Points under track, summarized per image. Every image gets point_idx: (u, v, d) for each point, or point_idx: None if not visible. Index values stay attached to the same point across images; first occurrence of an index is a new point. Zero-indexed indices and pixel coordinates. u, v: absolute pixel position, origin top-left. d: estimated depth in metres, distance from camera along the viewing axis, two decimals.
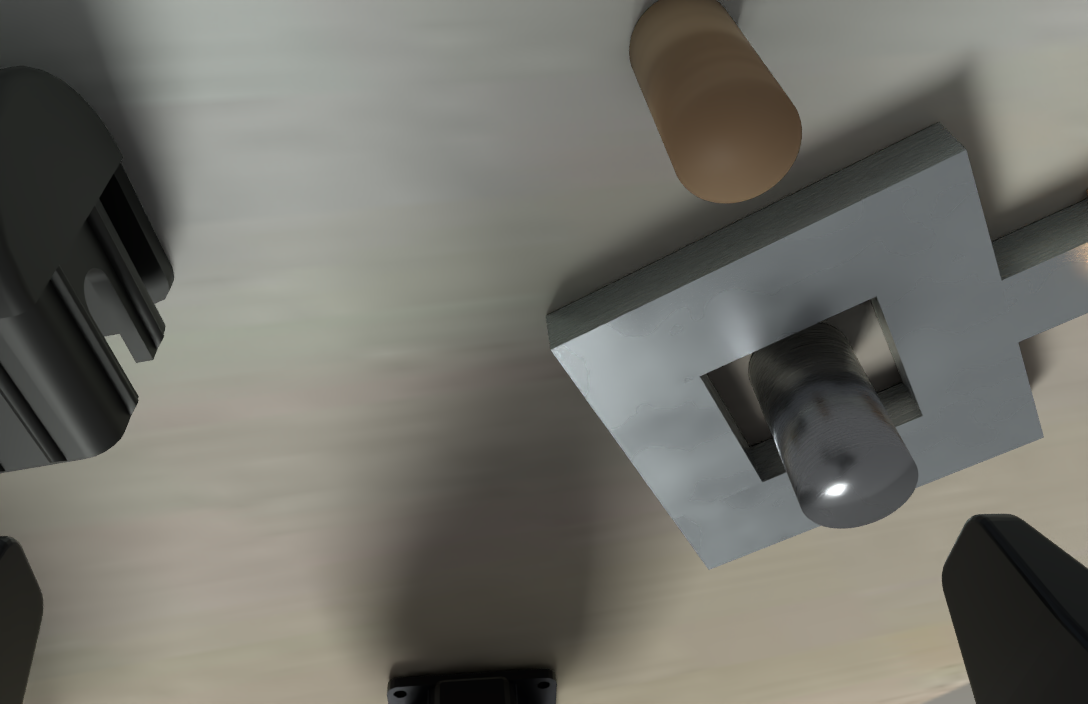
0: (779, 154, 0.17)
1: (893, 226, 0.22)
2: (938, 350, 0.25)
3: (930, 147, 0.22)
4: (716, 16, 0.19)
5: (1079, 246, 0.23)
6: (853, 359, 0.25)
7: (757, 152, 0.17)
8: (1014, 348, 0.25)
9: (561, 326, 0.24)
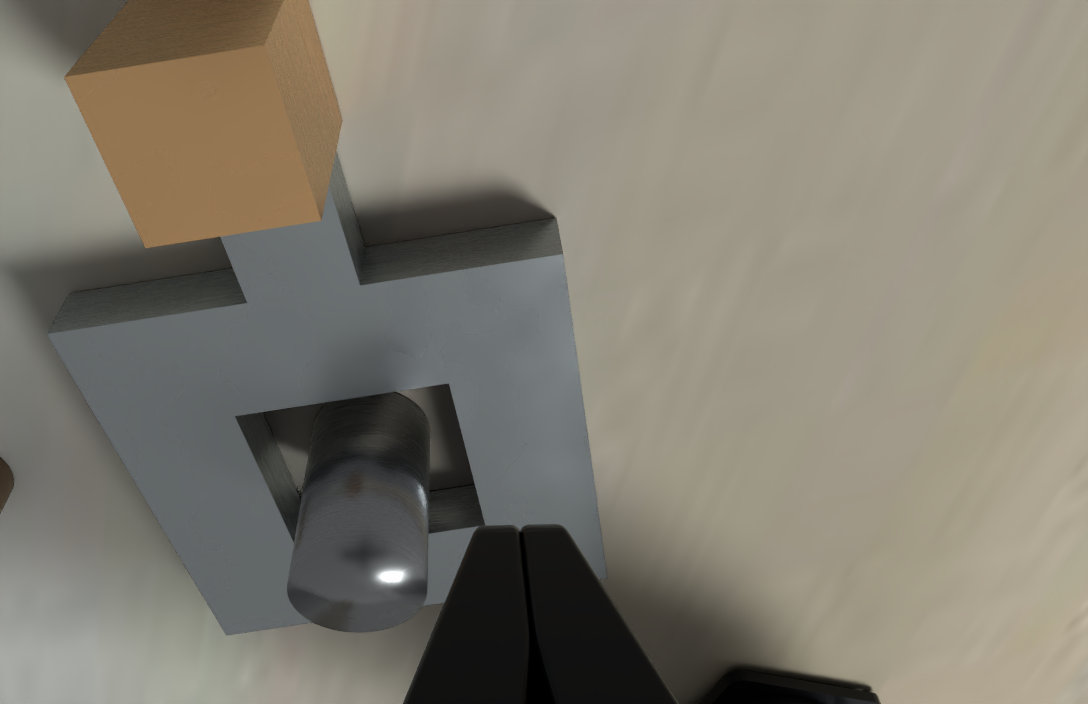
0: None
1: (139, 397, 0.20)
2: (340, 365, 0.20)
3: None
4: None
5: None
6: (328, 436, 0.22)
7: None
8: (370, 288, 0.19)
9: None
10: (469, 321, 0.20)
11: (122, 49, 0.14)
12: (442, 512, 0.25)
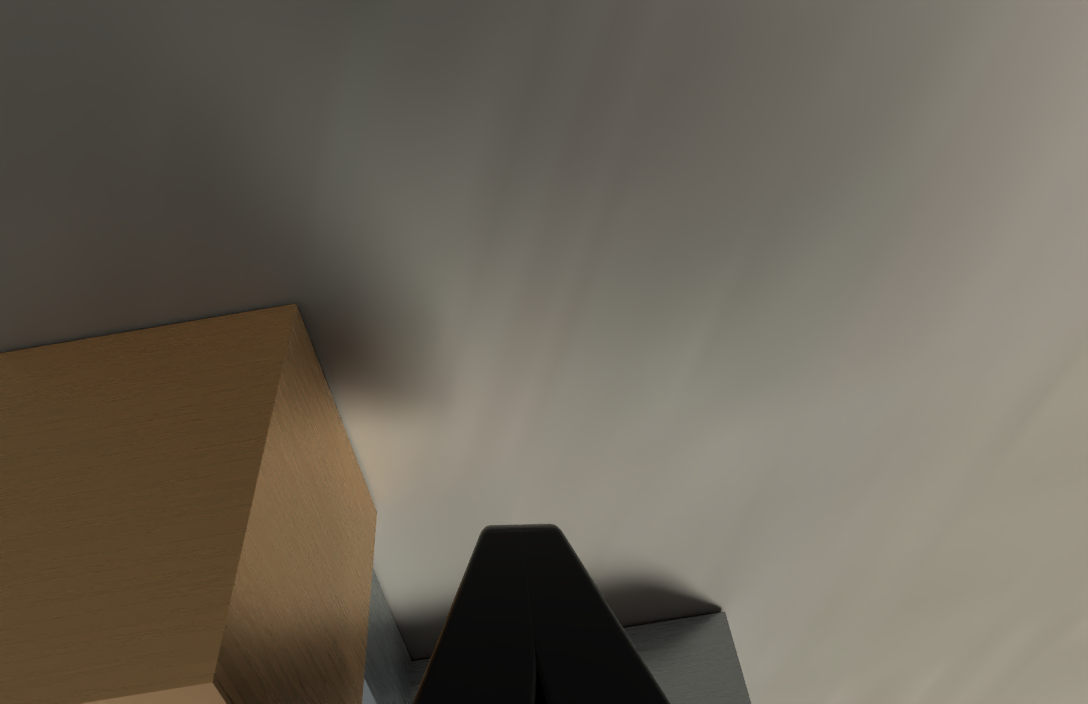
0: None
1: None
2: None
3: None
4: None
5: None
6: None
7: None
8: None
9: None
10: None
11: None
12: None
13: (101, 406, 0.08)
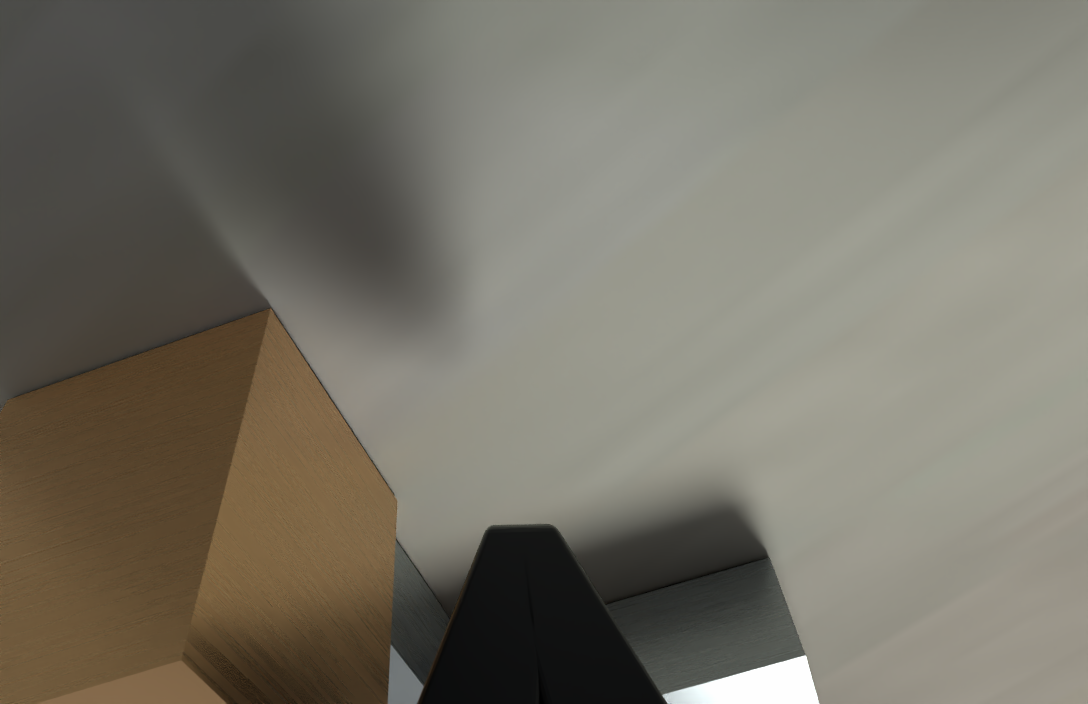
0: None
1: None
2: None
3: None
4: None
5: None
6: None
7: None
8: None
9: None
10: None
11: None
12: None
13: (99, 429, 0.08)
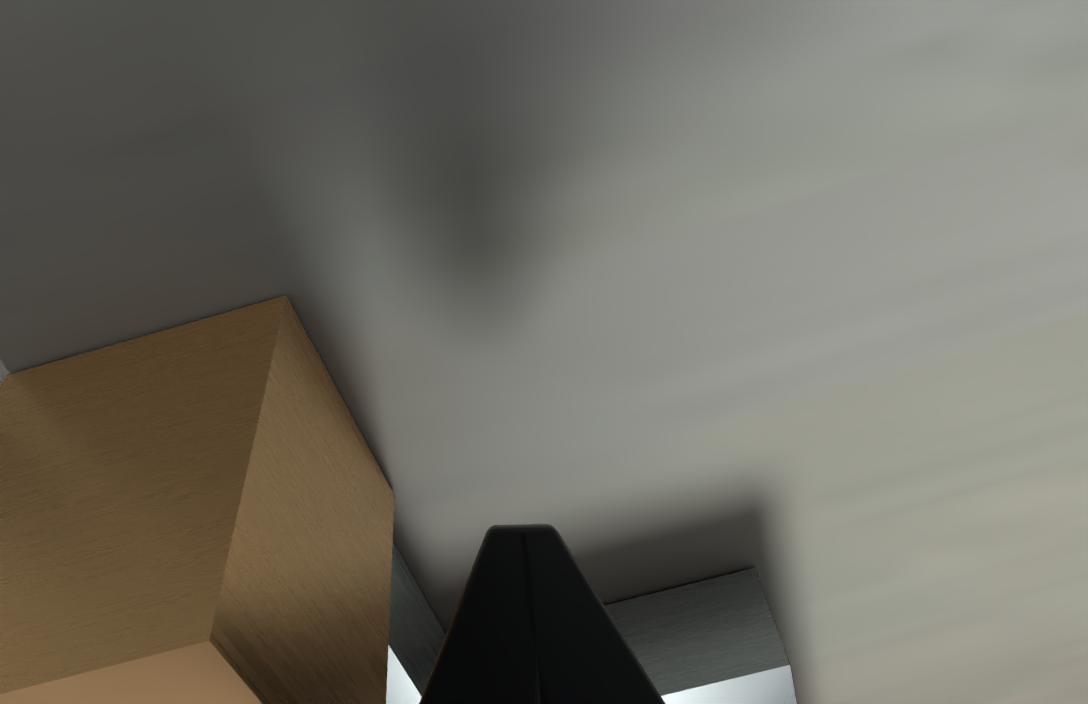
0: None
1: None
2: None
3: None
4: None
5: None
6: None
7: None
8: None
9: None
10: None
11: None
12: None
13: (108, 408, 0.08)
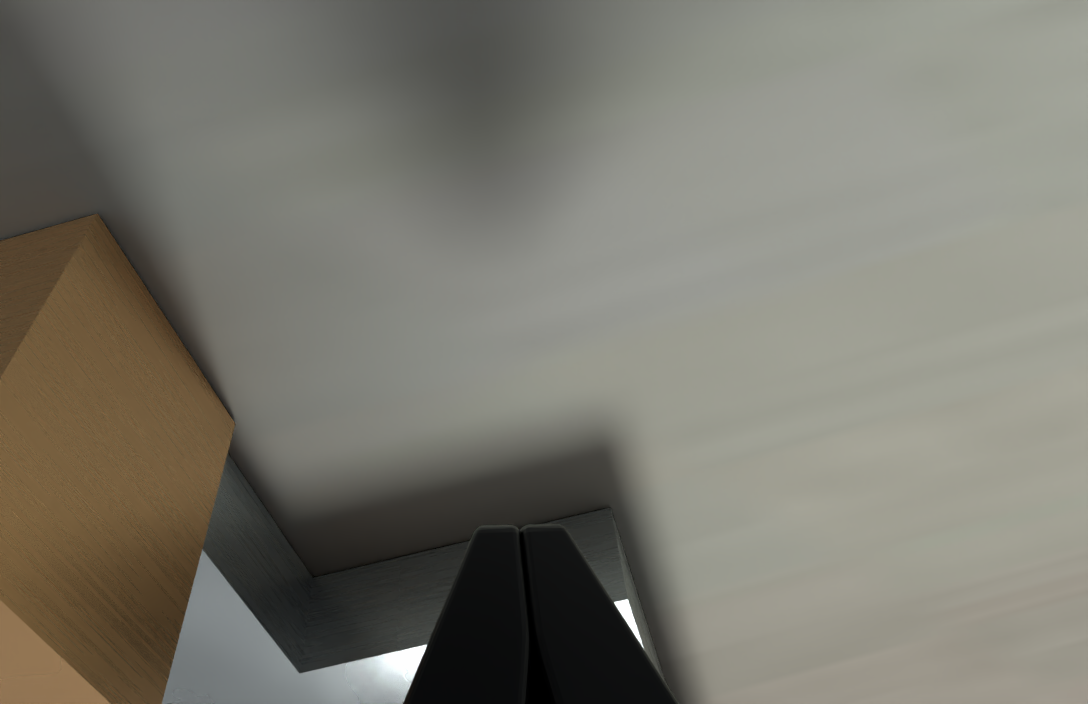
0: None
1: None
2: None
3: None
4: None
5: None
6: None
7: None
8: (317, 674, 0.12)
9: None
10: None
11: None
12: None
13: None
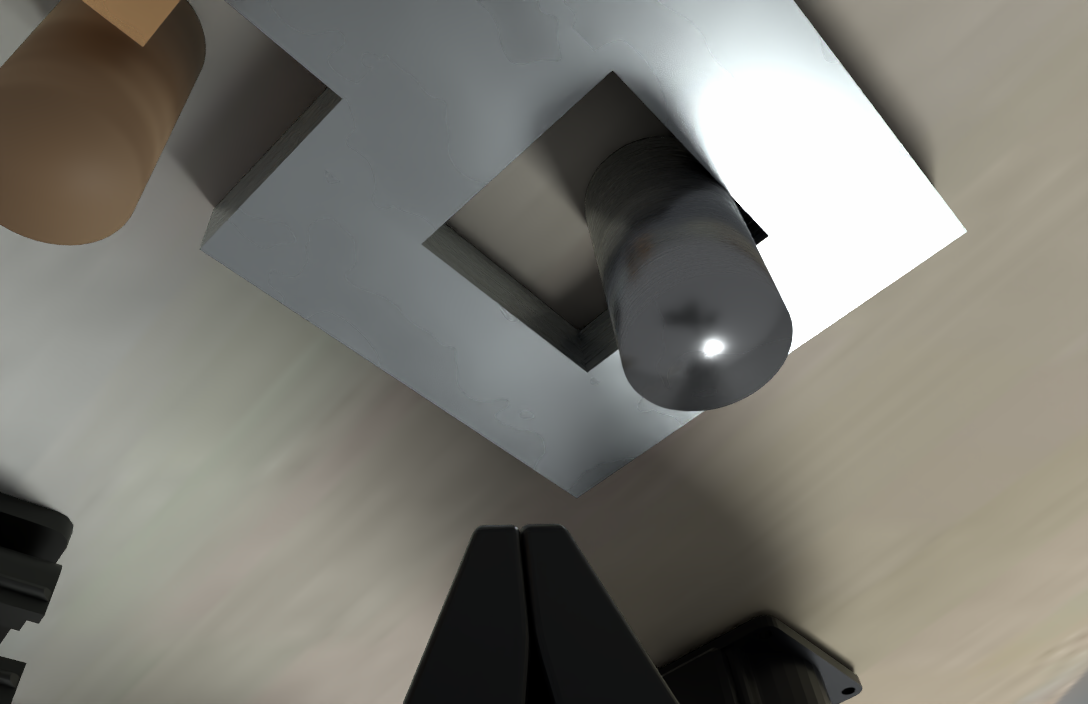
0: (91, 142, 0.12)
1: (322, 273, 0.18)
2: (482, 118, 0.16)
3: None
4: (56, 7, 0.15)
5: (248, 12, 0.15)
6: (663, 170, 0.18)
7: (71, 159, 0.13)
8: None
9: None
10: None
11: None
12: None
13: None
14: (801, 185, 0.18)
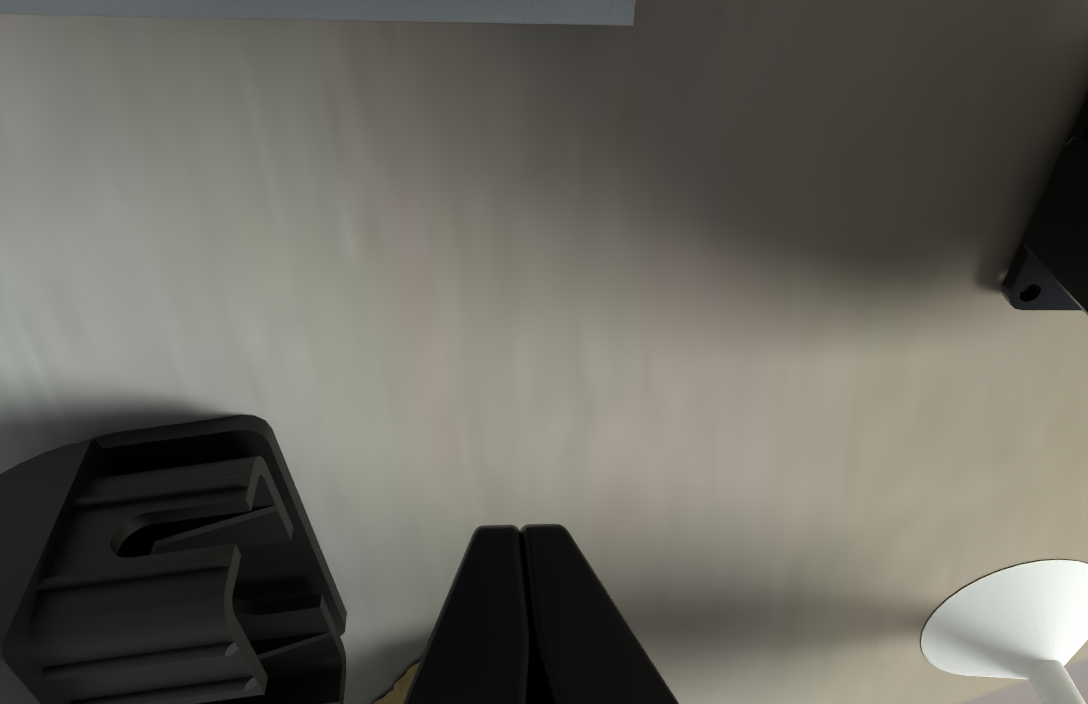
0: None
1: None
2: None
3: None
4: None
5: None
6: None
7: None
8: None
9: None
10: None
11: None
12: None
13: None
14: None
